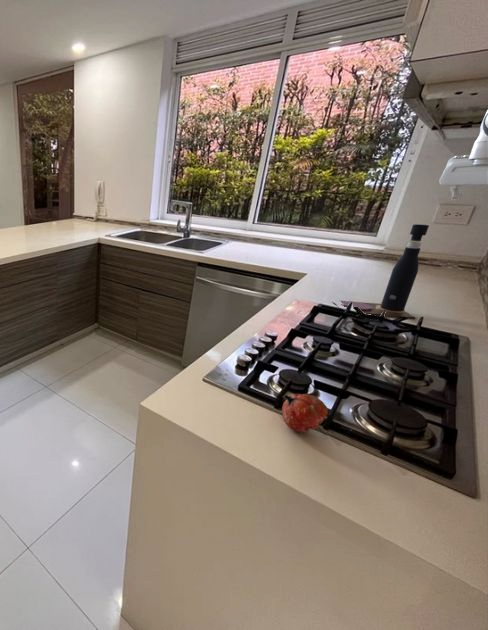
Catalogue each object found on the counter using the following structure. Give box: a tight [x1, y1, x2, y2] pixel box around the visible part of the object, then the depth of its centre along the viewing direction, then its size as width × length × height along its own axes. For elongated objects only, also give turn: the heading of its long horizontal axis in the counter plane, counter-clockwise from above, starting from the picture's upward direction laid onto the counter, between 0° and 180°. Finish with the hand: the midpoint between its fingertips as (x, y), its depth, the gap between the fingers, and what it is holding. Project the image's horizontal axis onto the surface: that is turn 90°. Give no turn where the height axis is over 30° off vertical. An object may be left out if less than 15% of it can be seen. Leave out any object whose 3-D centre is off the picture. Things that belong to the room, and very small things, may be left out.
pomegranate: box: [281, 393, 329, 436], centre depth 64 cm, size 7×7×10 cm
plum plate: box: [341, 300, 372, 311], centre depth 128 cm, size 9×9×1 cm
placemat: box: [340, 300, 416, 320], centre depth 127 cm, size 20×14×1 cm
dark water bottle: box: [380, 224, 430, 311], centre depth 119 cm, size 6×6×30 cm
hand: (473, 200), depth 107 cm, fingers open, 8 cm apart
